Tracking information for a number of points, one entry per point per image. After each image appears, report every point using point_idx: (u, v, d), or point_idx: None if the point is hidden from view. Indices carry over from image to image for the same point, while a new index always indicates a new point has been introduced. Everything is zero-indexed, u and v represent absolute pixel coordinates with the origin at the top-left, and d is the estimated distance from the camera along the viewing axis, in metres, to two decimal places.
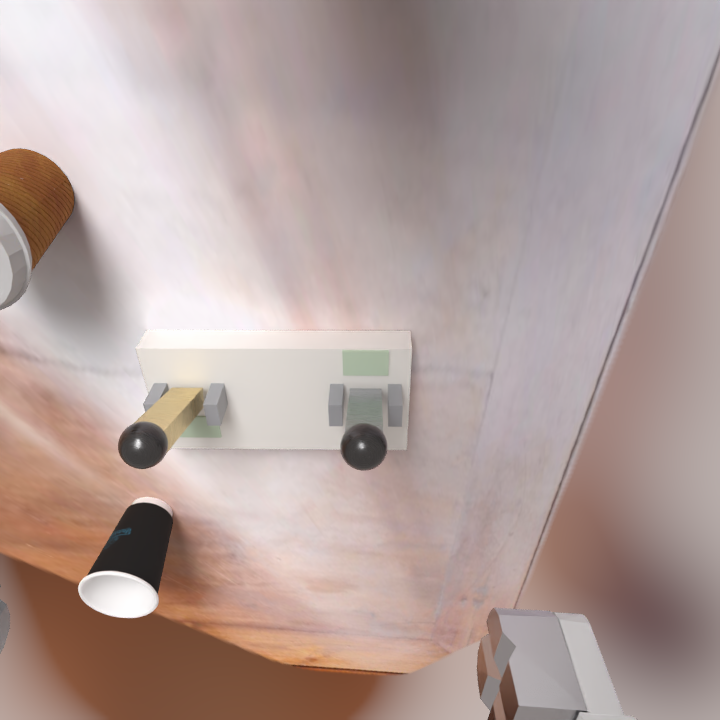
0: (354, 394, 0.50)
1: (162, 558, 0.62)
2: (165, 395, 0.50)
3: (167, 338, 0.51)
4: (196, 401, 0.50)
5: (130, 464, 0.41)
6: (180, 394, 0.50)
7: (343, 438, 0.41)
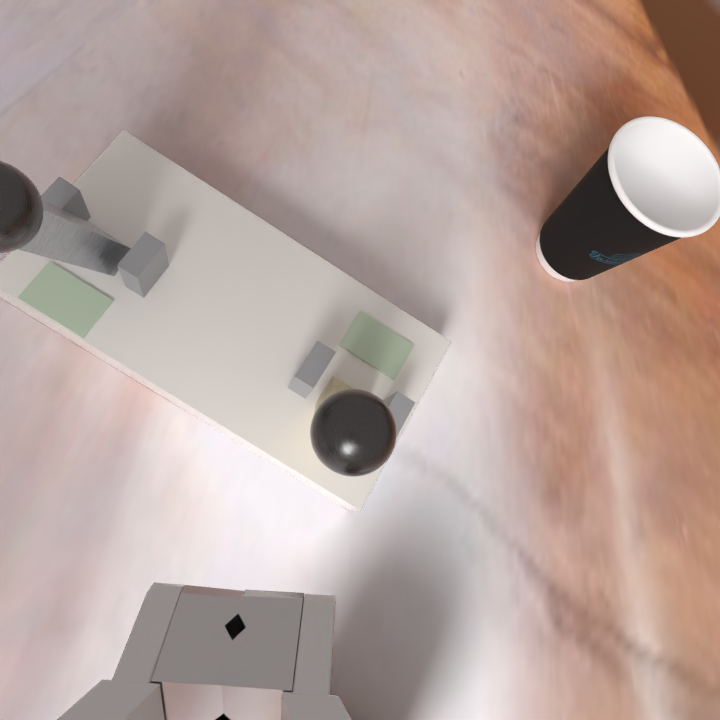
0: None
1: (578, 185, 0.38)
2: None
3: (320, 489, 0.34)
4: (321, 397, 0.31)
5: (380, 424, 0.21)
6: None
7: (9, 244, 0.21)
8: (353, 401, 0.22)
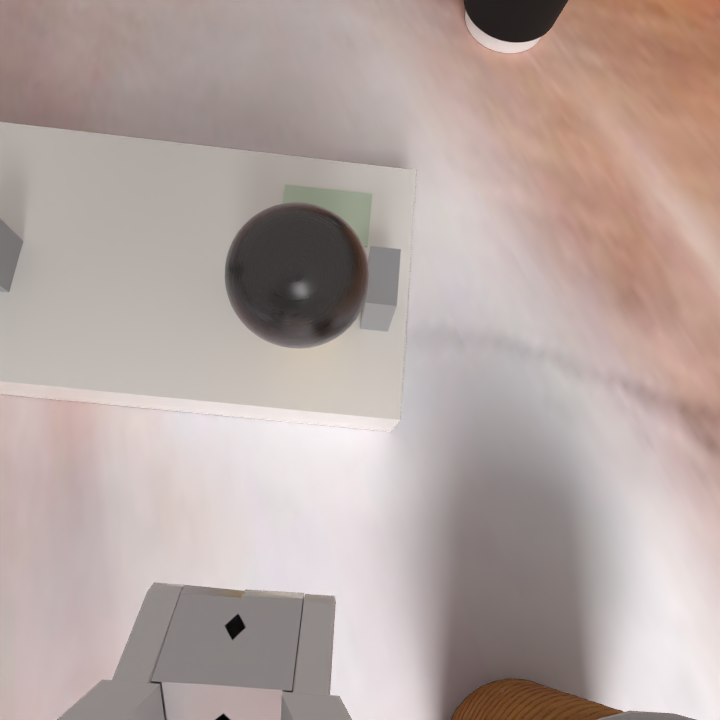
0: None
1: None
2: None
3: (341, 421, 0.25)
4: None
5: (322, 231, 0.12)
6: None
7: None
8: (265, 218, 0.13)
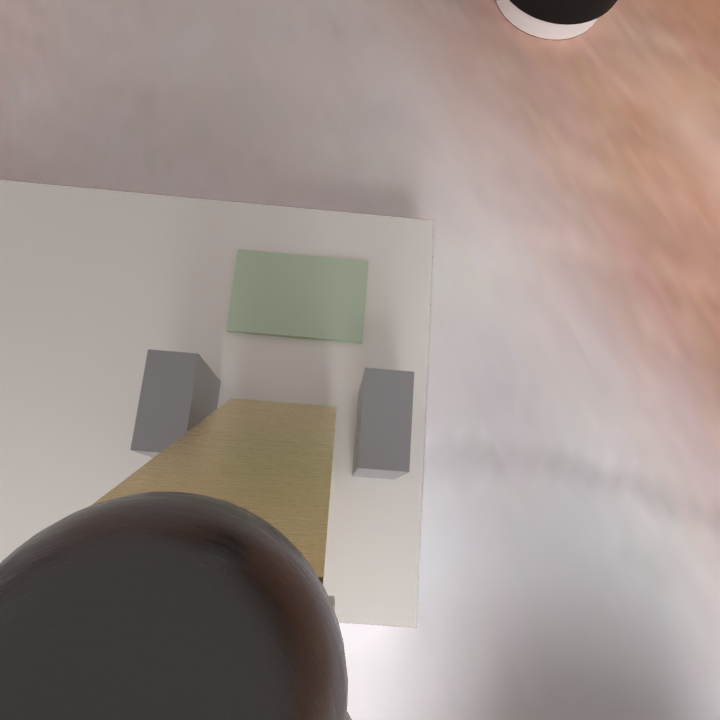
0: None
1: None
2: None
3: None
4: None
5: (174, 695, 0.04)
6: None
7: None
8: None
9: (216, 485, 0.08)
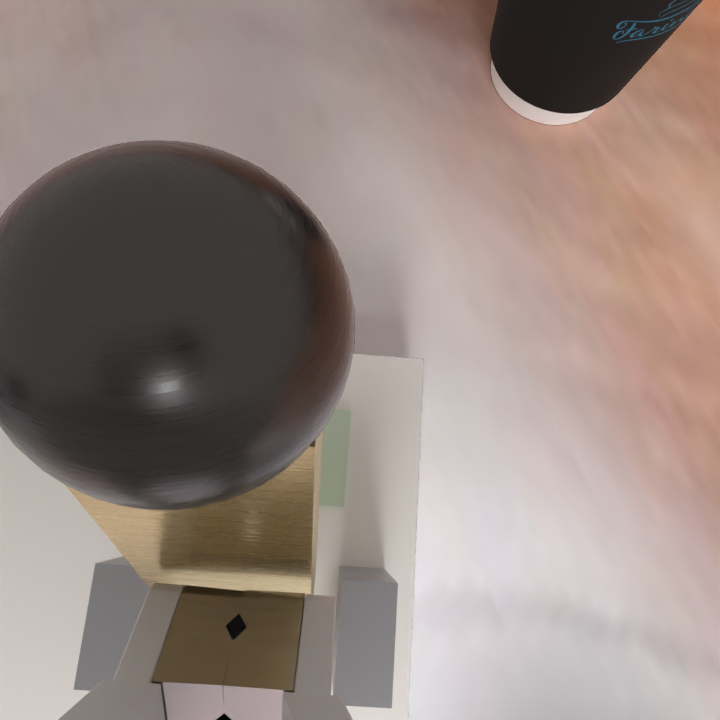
0: None
1: None
2: None
3: None
4: None
5: (235, 158, 0.05)
6: None
7: None
8: None
9: None
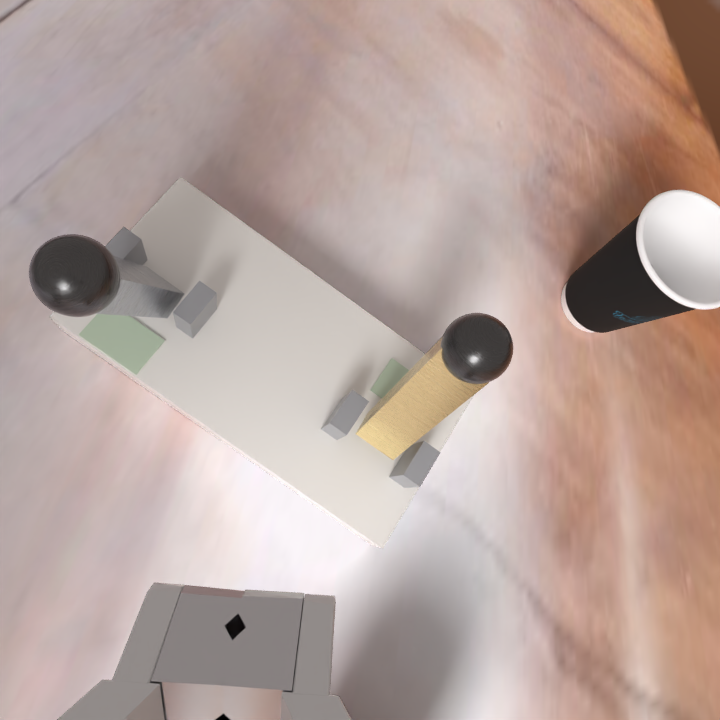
0: None
1: (606, 247, 0.40)
2: (406, 445, 0.34)
3: (345, 525, 0.36)
4: (373, 412, 0.34)
5: (506, 328, 0.27)
6: (388, 433, 0.34)
7: (90, 311, 0.24)
8: (482, 313, 0.28)
9: None
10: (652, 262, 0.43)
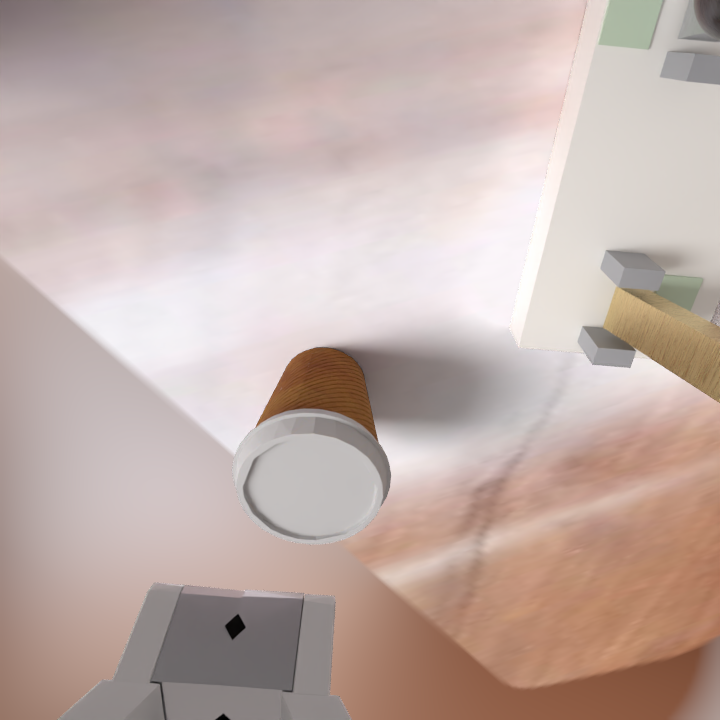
0: (684, 27, 0.28)
1: None
2: (626, 340, 0.35)
3: (521, 306, 0.39)
4: (648, 299, 0.34)
5: None
6: (633, 320, 0.34)
7: (711, 33, 0.20)
8: None
9: None
10: None
